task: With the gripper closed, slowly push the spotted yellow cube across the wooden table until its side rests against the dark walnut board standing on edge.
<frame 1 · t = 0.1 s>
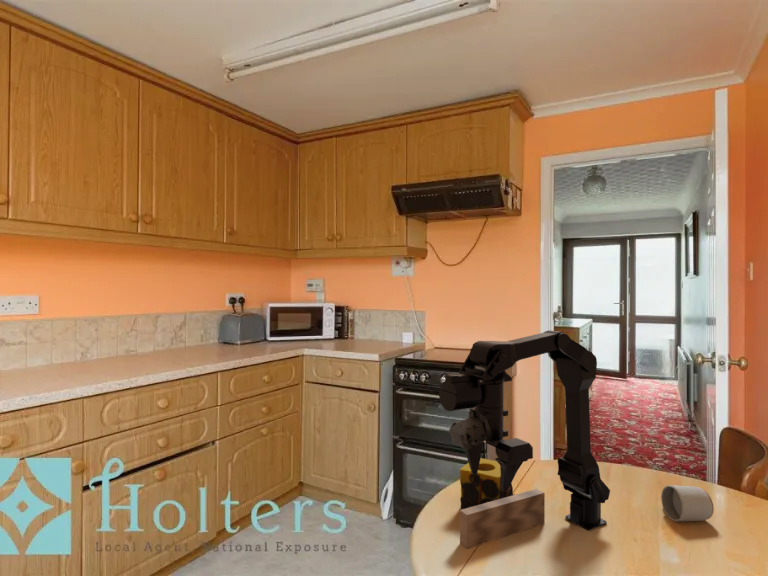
hand: (489, 481, 96), 15 cm above the table, fingers open, 9 cm apart
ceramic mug: (682, 517, 112), on the table
walnut board: (503, 533, 104), on the table
spotted yellow cube: (487, 507, 117), on the table
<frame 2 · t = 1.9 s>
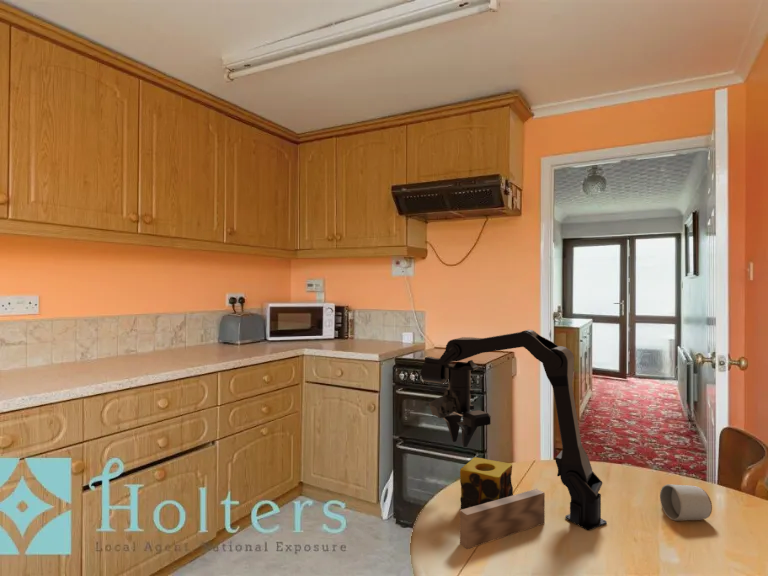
hand: (459, 444, 126), 12 cm above the table, fingers open, 4 cm apart
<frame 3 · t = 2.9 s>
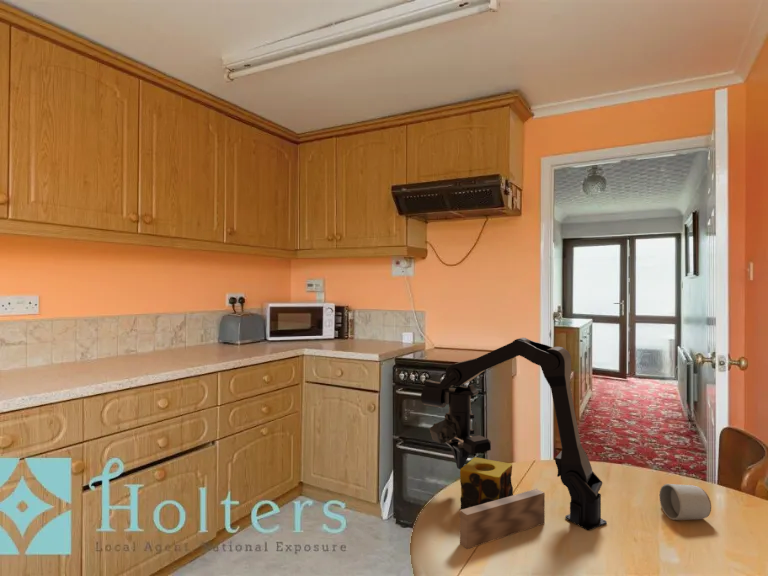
hand: (459, 468, 126), 6 cm above the table, fingers closed
nothing on the table moved.
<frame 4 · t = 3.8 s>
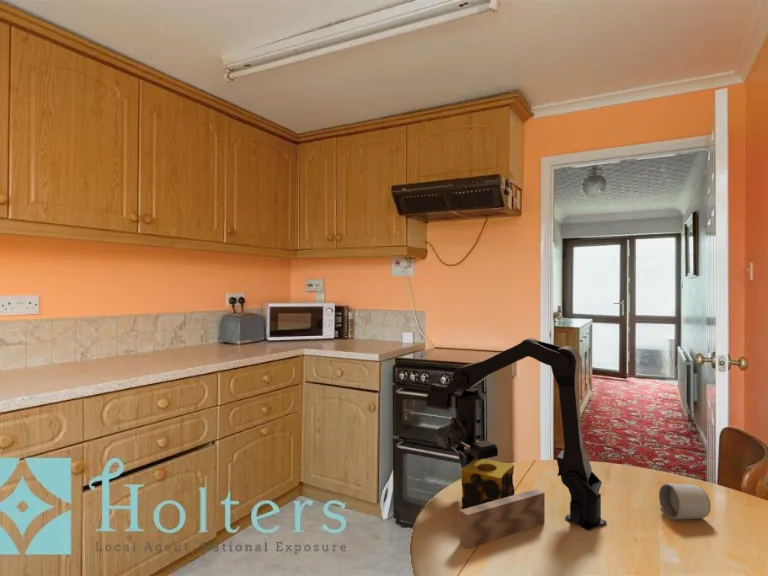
hand: (465, 473, 124), 5 cm above the table, fingers closed
spotted yellow cube: (488, 508, 116), on the table, touching gripper
everything else where it was.
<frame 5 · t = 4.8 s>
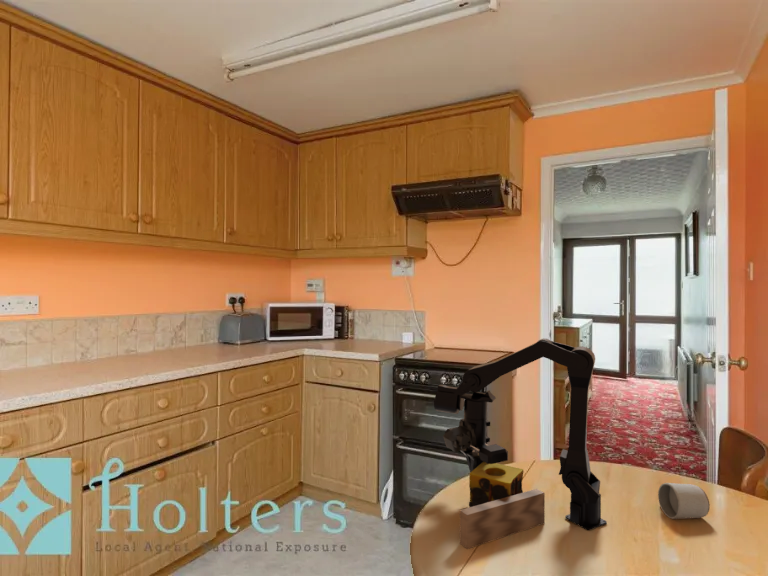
hand: (473, 477, 121), 5 cm above the table, fingers closed
spotted yellow cube: (496, 513, 113), on the table, touching gripper, walnut board
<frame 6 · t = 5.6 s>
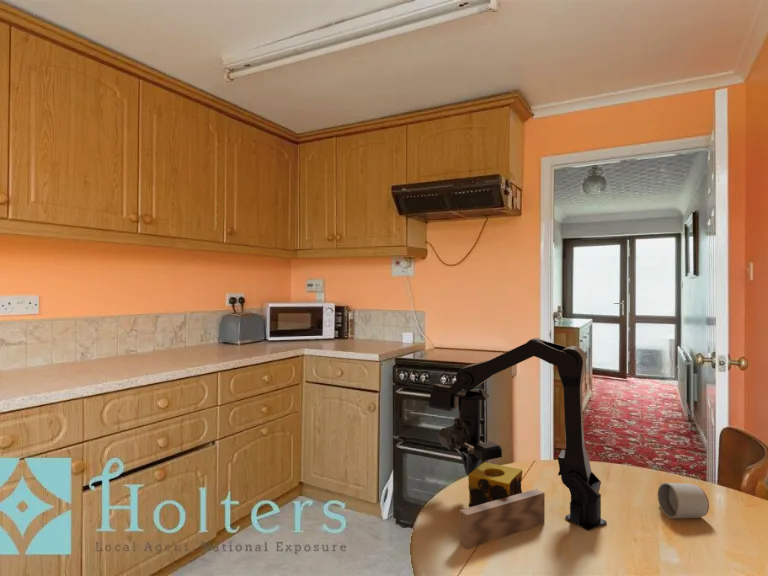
hand: (469, 475, 122), 5 cm above the table, fingers closed
spotted yellow cube: (496, 514, 113), on the table
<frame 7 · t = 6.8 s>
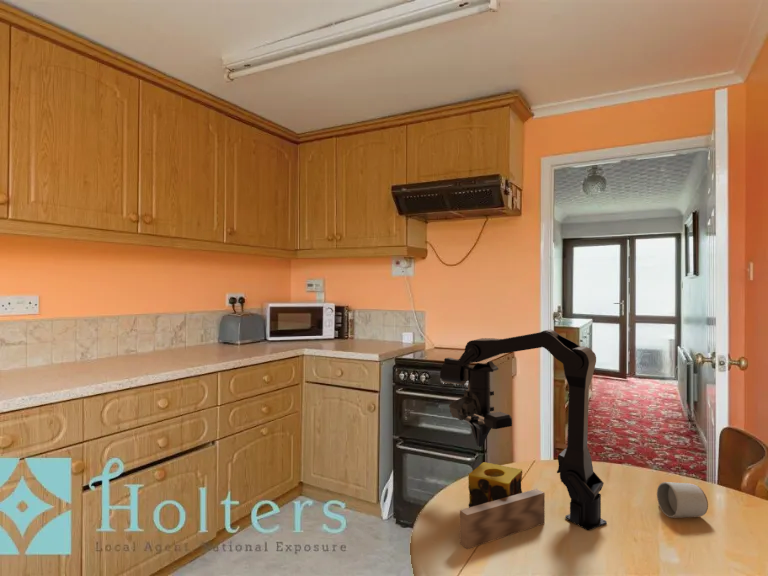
hand: (479, 446, 125), 12 cm above the table, fingers closed
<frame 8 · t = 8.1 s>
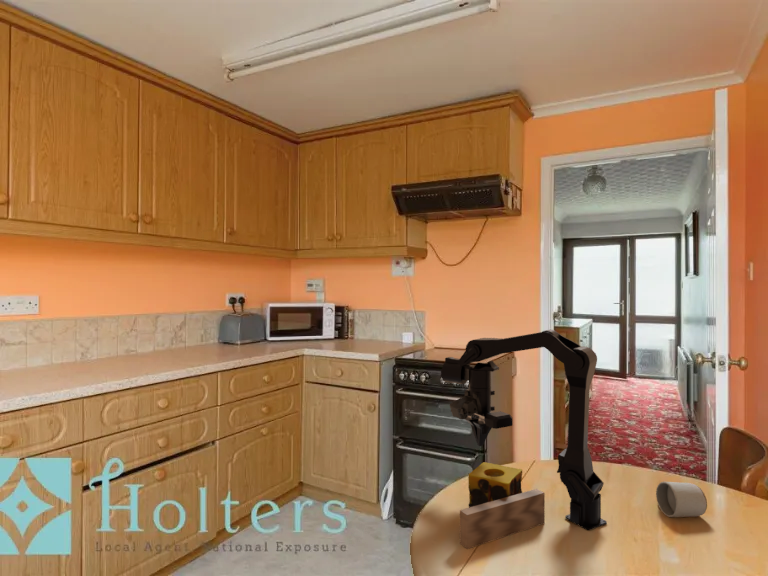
hand: (480, 445, 125), 12 cm above the table, fingers closed
at the end: spotted yellow cube 0.3 cm from the target spot on the table beside the walnut board, on the table; spotted yellow cube tilted 0°; spotted yellow cube moved 3.7 cm from its start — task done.
